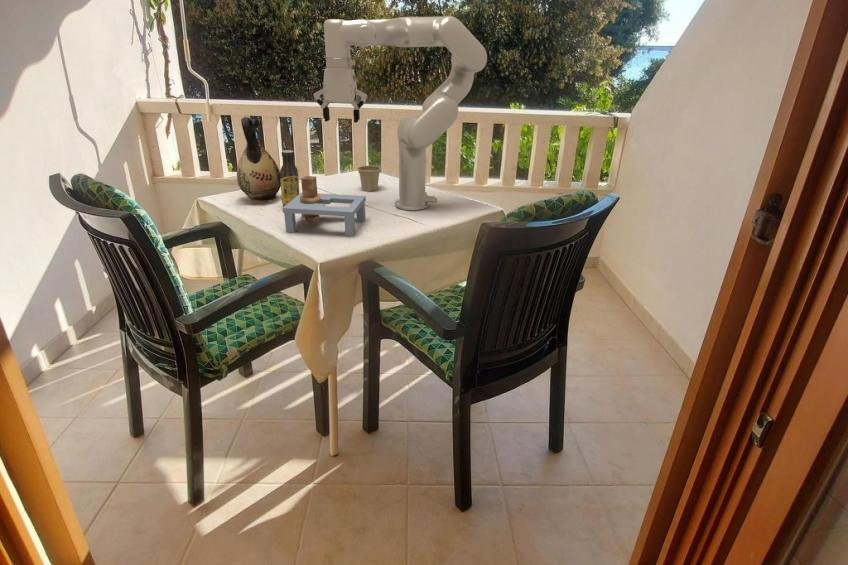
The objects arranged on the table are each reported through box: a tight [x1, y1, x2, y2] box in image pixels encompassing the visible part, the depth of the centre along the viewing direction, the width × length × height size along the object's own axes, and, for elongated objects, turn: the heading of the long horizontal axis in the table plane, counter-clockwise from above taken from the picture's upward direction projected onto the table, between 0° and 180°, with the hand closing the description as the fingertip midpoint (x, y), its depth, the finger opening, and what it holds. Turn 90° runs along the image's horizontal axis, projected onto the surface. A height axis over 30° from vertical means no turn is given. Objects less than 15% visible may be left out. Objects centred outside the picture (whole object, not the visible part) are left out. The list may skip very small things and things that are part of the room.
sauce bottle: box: [279, 149, 301, 208], centre depth 172 cm, size 6×6×20 cm
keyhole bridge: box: [281, 192, 367, 238], centre depth 158 cm, size 17×22×8 cm
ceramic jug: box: [236, 116, 281, 204], centre depth 176 cm, size 17×15×30 cm
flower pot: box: [356, 165, 382, 192], centre depth 197 cm, size 9×9×9 cm
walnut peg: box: [300, 175, 321, 222], centre depth 157 cm, size 6×6×14 cm
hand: (341, 121), depth 160 cm, fingers open, 9 cm apart
